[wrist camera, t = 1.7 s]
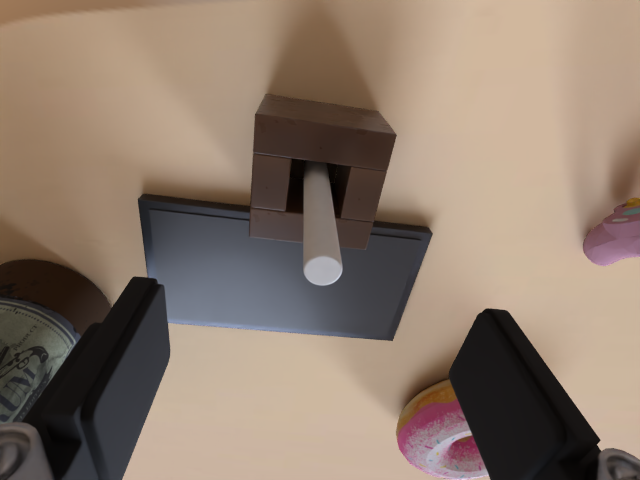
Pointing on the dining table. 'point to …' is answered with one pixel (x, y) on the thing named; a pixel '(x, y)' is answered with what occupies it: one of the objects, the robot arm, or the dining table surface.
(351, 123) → the pen holder
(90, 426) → the robot arm
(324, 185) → the stylus
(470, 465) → the donut
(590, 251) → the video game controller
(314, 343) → the dining table surface
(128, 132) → the dining table surface
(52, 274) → the rum bottle
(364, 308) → the tablet
